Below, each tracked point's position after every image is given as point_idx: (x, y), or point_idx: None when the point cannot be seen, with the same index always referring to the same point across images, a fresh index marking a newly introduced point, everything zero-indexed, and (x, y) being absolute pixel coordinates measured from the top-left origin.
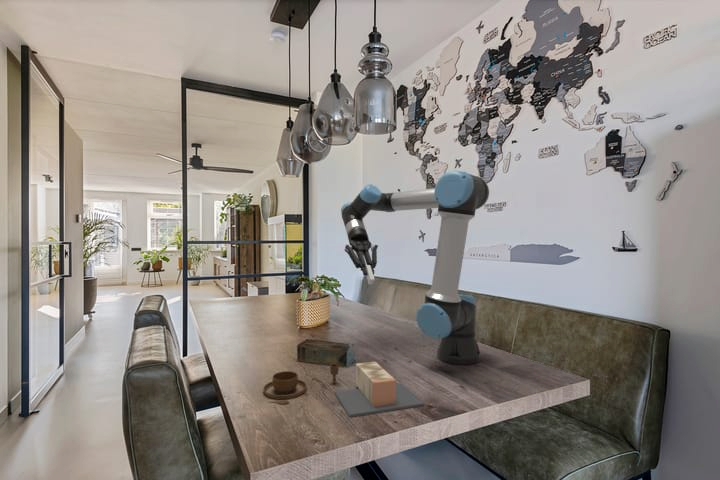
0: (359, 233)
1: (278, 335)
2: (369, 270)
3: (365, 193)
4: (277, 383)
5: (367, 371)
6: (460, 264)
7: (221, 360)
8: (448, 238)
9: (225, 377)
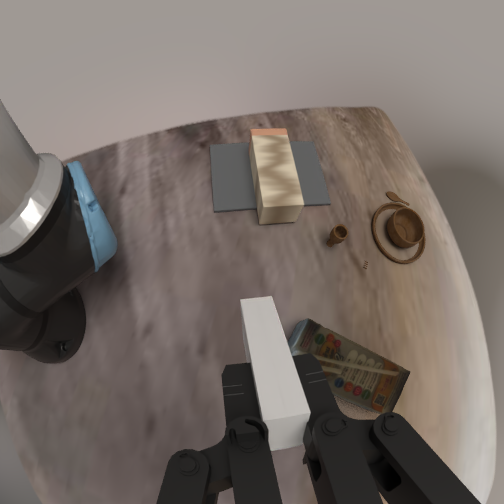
0: None
1: None
2: (276, 359)
3: None
4: (412, 213)
5: (288, 165)
6: None
7: (484, 373)
8: None
9: (470, 299)
